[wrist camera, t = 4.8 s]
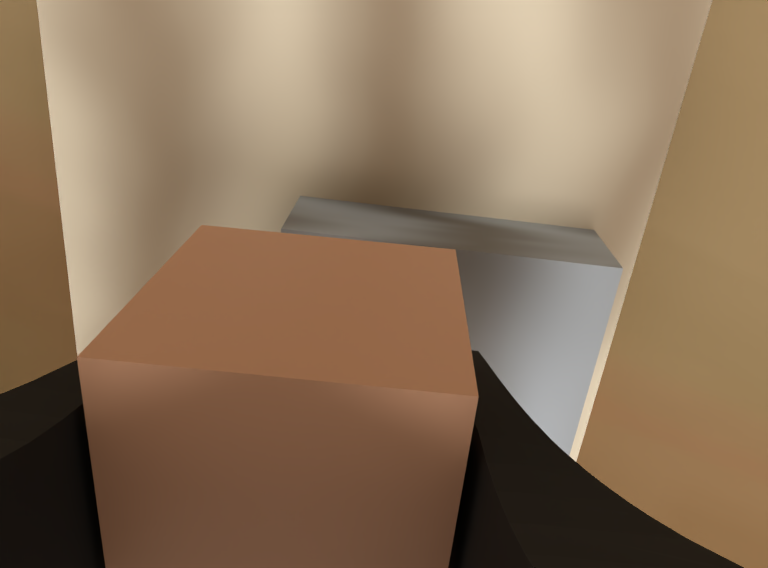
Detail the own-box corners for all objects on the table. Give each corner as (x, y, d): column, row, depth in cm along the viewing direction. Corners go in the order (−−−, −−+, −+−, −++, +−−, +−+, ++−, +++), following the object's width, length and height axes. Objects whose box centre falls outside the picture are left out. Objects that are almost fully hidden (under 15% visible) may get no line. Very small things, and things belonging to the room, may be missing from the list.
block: (209, 431, 14) (114, 630, 10) (201, 224, 12) (76, 357, 8) (426, 452, 14) (431, 662, 10) (455, 249, 12) (478, 396, 8)
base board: (97, 404, 24) (40, 477, 20) (39, -160, 17) (-68, -203, 13) (565, 459, 24) (592, 541, 20) (719, -81, 17) (805, -102, 13)
